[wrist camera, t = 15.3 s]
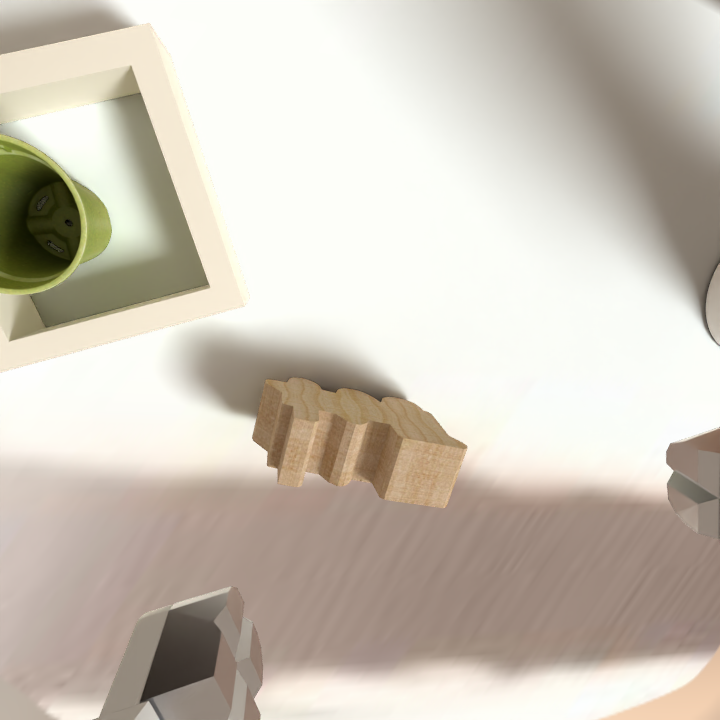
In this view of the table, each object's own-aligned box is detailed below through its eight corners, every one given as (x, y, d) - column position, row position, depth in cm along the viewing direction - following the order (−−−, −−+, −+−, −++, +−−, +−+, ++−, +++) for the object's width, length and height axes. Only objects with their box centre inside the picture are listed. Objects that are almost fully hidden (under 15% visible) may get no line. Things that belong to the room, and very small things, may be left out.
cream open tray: (170, 54, 32) (149, 22, 28) (250, 297, 38) (244, 306, 33) (-93, 111, 31) (-162, 89, 26) (32, 356, 37) (-6, 374, 32)
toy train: (266, 370, 40) (260, 411, 31) (432, 404, 44) (471, 451, 35) (254, 423, 42) (244, 479, 32) (416, 452, 45) (450, 510, 36)
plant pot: (-19, 234, 34) (-118, 234, 25) (41, 130, 32) (-44, 94, 24) (97, 303, 36) (40, 323, 28) (156, 210, 35) (115, 202, 27)
